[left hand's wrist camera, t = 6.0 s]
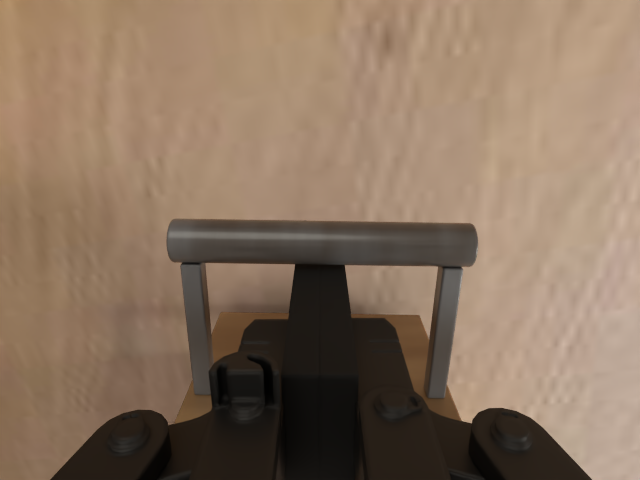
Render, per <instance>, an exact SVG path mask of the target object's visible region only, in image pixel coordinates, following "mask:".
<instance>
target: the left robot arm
mask: <svg viewBox="0 0 640 480" xmlns="http://www.w3.org/2000/svg"><path fill="white" fill-rule="evenodd" d="M208 373H209V382H210V392H211V401H212V409H211V411H210V412H208V413H206V414H204V415H202V416H200V417H197V418H194V419H191V420H188V421H184V422H180V423H176V424H172V425H168V422H167V421H166V419H165V418H164V417H163V416H162V414H159V413H157V412H154V411H152V410H135V411H131V412H127V413H123V414H121V415H119V416H117V417H115V418H112V419H110V420H109V421H108V422H106V423H105V424H104V425H103V426H101V427H100V428H99V429H98V430H97V431H96V432H95V433H94V434H93V435H92V436H91V437H90V438H89V439H88V440H87V441H86V442H85V443H84V444H83V446H82V447H81V448H80V449H79V450H78V451H77V452H76V453H75V454H74V455H73V456H72V457H71V458H70V459H69V460H68V461H67V462H66V464H65V465H64V466H63V467H62V468H61V469H60V470H59V471H58V472H57V473H56V474H55V475H54V476H53V477H52V478H51V479H50V480H284V477H285V480H355V478H356V480H592V479H591V478H590V477H589V476H588V475H587V474H586V473H585V472H584V471H583V470H582V469H581V468H580V466H579V465H578V464H577V463H576V462H575V461H574V460H573V459H572V458H571V457H570V456H569V455H568V454H567V453H566V452H565V451H564V450H563V449H562V448H561V446H560V445H559V444H558V443H557V442H556V441H555V440H554V439H553V438H552V437H551V436H550V435H549V434H548V433H547V432H546V431H545V430H544V429H543V428H542V427H541V426H540V425H539V424H537V423H536V422H535V421H534V420H533V419H531V418H530V417H527V416H525V415H523V414H521V413H519V412H517V411H513V410H509V409H504V408H489V409H486V410H484V411H481V412H479V413H478V414H477V415H476V416H475V418H474V419H473V421H472V424H471V423H467V422H463V421H459V420H455V419H451V418H448V417H445V416H442V415H439V414H437V413H435V412H433V411H431V410H430V409H429V408H428V406H427V404H426V402H425V401H424V399H423V397H421V396H420V395H419V394H418V393H416V392H415V391H414V388H413V385H412V382H411V378H410V375H409V372H408V368H407V365H406V362H405V358H404V355H403V353H402V348H401V345H400V343H399V338H398V335H397V331H396V328H395V327H394V326H393V325H392V324H391V323H390V322H389V321H388V320H387V319H385V318H351V311H350V303H349V295H348V288H347V280H346V272H345V265H312V264H295V270H294V278H293V286H292V293H291V301H290V309H289V316H288V319H255V320H254V321H253V322H252V323H251V324H250V325H249V326H247V327H246V328H245V329H244V332H243V336H242V339H241V344H240V346H239V349H238V352H235V353H232V354H229V355H226V356H224V357H222V358H221V359H219V360H218V361H216V362H215V363H214V364H213V365H212V367H211V368H210V370H209V371H208Z"/></svg>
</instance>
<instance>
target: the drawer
mask: <svg viewBox="0 0 640 480" xmlns="http://www.w3.org/2000/svg"><path fill="white" fill-rule="evenodd" d="M167 251H168V255H169V258H170V260H171V261H173V262H182V264H181V266H180V267H181V276H182V285H183V295H184V304H185V313H186V322H187V332H188V341H189V350H190V359H191V368H192V378H193V380H192V382H191V385H190V387H189V390H188V392H187V394H186V397H185V399H184V401H183V404H182V406H181V409H180V411H179V413H178V416H177V418H176V421H175V423H174V424H176V423H180V422H184V421H188V420H191V419H194V418H197V417H200V416H202V415H204V414H206V413H208V412H210V411H211V409H212V401H211V392H210V382H209V373H208V371H209V370H210V368H211V367H212V365H213V364H214V363H215V362H216V361H218V360H219V359H221V358H222V357H224V356H226V355H229V354H232V353H235V352H238V349H239V346H240V344H241V339H242V336H243V332H244V329H245V328H246V327H247V326H249V325H250V324H251V323H252V322H253V321H254V320H255V319H288V316H289V313H240V312H221V313H220V316H219V318H218V320H217V323H216V325H215V328H214V330H213V332H212V335H211V324H210V313H209V301H208V290H207V278H206V266H205V263H247V264H312V265H378V266H438V273H437V281H436V290H435V298H434V306H433V314H432V322H431V330H430V339H429V338H428V336H427V333H426V331H425V328H424V326H423V323H422V321H421V318H420V316H419V315H372V314H351V318H385V319H387V320H388V321H389V322H390V323H391V324H392V325H393V326H394V327H395V328H396V331H397V335H398V338H399V343H400V345H401V348H402V353H403V355H404V358H405V362H406V365H407V368H408V372H409V375H410V378H411V382H412V385H413V388H414V391H415V392H416V393H418V394H419V395H420V396H421V397H423V399H424V401H425V402H426V404H427V406H428V408H429V409H430V410H431V411H433V412H435V413H437V414H439V415H442V416H445V417H448V418H451V419H455V420H459V421H461V418H460V416H459V413H458V411H457V408H456V406H455V403H454V401H453V398H452V396H451V393H450V391H449V388H448V386H447V378H448V372H449V365H450V358H451V351H452V344H453V337H454V330H455V323H456V316H457V310H458V303H459V296H460V289H461V282H462V275H463V269H462V267H470V266H472V265H473V264H474V263H475V260H476V257H477V252H478V237H477V232H476V229H475V227H474V225H472V224H470V223H416V222H352V221H287V220H223V219H173V220H172V221H171V222H170V224H169V227H168V232H167ZM284 480H285V477H284ZM355 480H356V478H355Z"/></svg>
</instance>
